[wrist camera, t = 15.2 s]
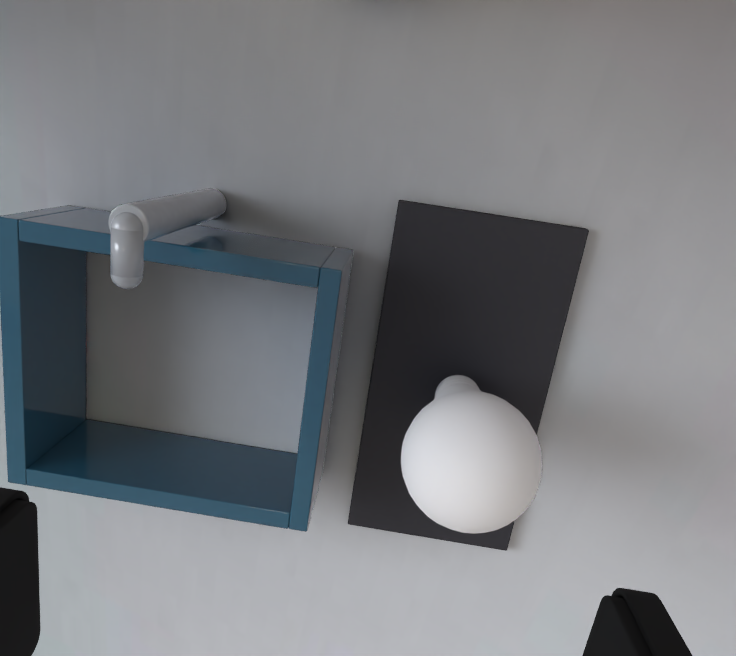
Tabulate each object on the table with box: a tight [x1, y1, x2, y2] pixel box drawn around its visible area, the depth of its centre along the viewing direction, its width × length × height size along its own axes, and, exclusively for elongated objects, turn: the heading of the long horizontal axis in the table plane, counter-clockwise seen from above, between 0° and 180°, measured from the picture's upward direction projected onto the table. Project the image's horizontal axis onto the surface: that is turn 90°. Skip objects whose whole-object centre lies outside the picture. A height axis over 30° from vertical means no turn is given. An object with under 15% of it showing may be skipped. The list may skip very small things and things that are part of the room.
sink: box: [0, 188, 354, 532], centre depth 29 cm, size 16×16×11 cm
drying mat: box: [348, 200, 589, 550], centre depth 34 cm, size 10×20×1 cm, turn 172°
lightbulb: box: [401, 375, 542, 534], centre depth 28 cm, size 6×6×11 cm
